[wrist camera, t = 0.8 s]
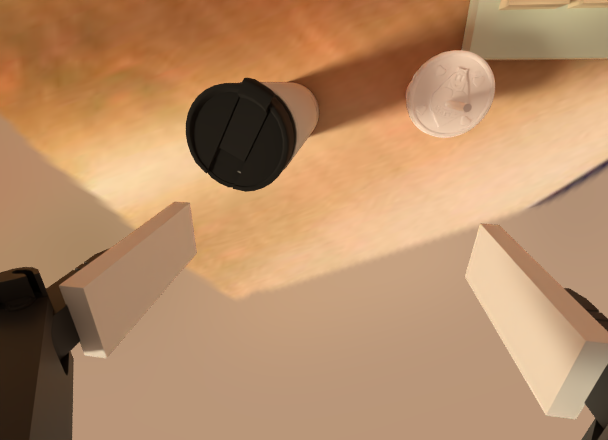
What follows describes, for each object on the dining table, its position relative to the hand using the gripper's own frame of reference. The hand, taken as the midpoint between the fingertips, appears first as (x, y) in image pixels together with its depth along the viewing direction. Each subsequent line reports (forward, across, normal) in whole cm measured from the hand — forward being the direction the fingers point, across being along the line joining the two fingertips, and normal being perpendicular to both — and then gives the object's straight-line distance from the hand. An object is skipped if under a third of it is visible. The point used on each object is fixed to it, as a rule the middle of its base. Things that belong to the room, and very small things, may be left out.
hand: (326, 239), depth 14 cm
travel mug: (+24, -6, +3) cm, 25 cm away
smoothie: (+24, +8, +6) cm, 26 cm away
